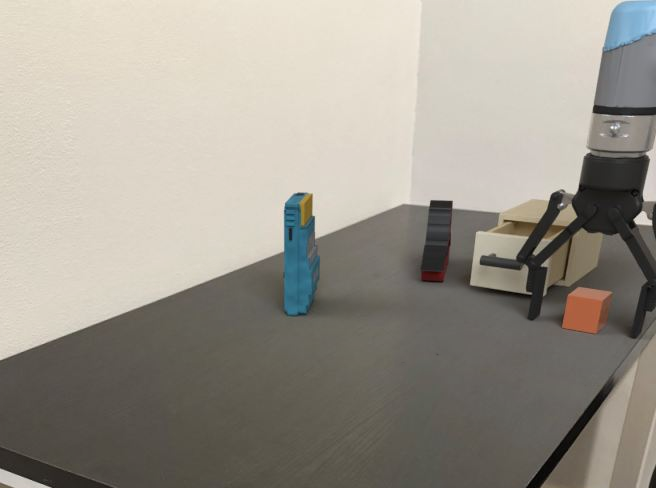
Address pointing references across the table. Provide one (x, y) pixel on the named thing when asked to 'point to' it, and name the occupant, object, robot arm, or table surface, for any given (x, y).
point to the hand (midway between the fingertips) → (583, 325)
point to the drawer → (514, 257)
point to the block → (586, 310)
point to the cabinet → (582, 244)
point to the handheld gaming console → (300, 254)
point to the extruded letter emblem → (437, 241)
